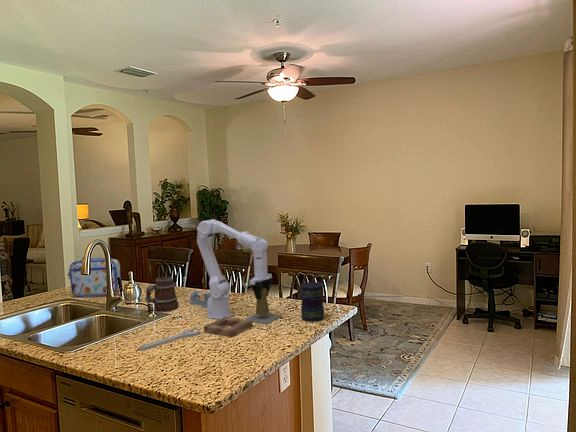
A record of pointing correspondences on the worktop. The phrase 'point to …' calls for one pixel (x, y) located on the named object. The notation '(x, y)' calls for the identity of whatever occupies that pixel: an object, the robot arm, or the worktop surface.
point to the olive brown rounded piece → (262, 303)
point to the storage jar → (312, 302)
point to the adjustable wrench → (170, 339)
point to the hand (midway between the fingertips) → (261, 297)
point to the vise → (199, 298)
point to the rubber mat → (263, 318)
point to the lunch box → (92, 278)
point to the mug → (163, 294)
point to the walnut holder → (220, 328)
